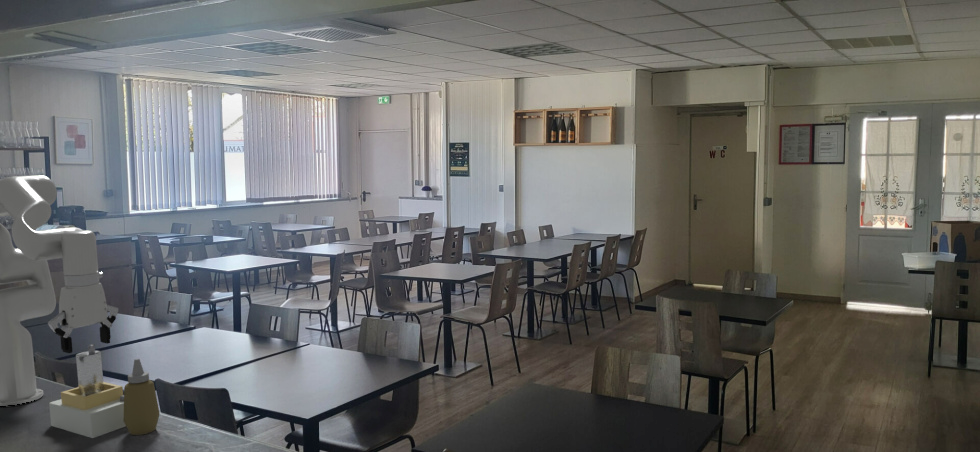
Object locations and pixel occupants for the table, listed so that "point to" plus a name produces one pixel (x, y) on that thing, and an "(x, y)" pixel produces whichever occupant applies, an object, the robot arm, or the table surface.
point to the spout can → (89, 371)
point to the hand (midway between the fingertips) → (86, 347)
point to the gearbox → (89, 411)
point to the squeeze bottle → (140, 402)
